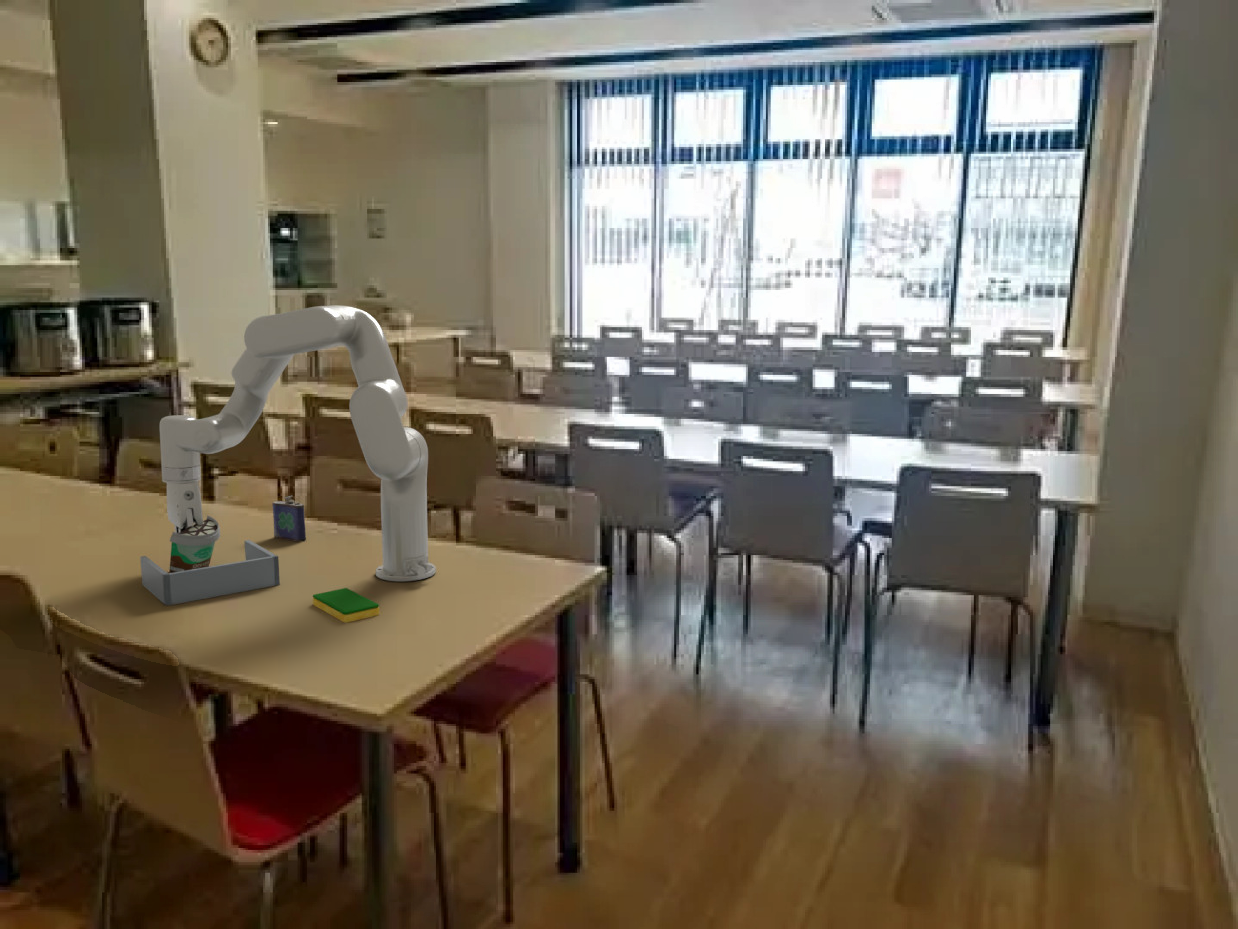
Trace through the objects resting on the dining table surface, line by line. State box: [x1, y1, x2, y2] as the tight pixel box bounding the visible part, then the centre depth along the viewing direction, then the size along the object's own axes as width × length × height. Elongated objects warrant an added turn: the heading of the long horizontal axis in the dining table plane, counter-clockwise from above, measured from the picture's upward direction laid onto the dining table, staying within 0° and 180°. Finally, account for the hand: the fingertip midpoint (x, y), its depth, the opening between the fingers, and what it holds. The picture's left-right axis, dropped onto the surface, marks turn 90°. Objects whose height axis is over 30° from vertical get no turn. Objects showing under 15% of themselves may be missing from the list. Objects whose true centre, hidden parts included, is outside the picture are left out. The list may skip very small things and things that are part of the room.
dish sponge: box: [312, 587, 380, 623], centre depth 184 cm, size 7×14×2 cm, turn 42°
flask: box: [271, 495, 307, 543], centre depth 234 cm, size 9×3×11 cm, turn 65°
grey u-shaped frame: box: [139, 539, 281, 607], centre depth 198 cm, size 17×22×6 cm
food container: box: [169, 515, 221, 573], centre depth 205 cm, size 12×6×10 cm, turn 166°
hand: (185, 556), depth 209 cm, fingers closed
